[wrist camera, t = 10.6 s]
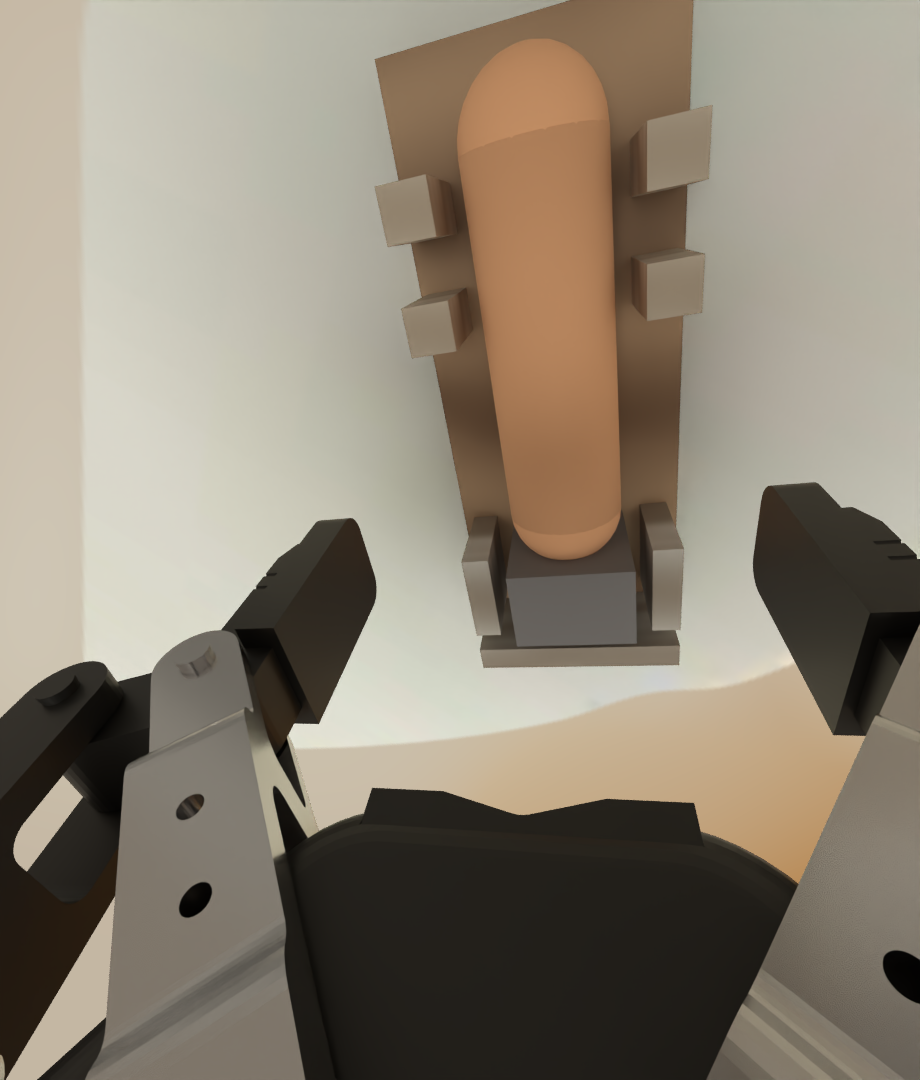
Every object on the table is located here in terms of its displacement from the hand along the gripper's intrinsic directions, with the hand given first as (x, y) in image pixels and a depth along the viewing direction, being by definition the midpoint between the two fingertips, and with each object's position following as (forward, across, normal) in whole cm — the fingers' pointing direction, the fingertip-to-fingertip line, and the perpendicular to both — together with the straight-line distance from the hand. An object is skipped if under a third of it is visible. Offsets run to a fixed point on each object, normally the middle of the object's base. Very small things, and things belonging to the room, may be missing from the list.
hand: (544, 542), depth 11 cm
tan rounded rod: (+10, 0, 0) cm, 10 cm away
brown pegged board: (+12, 0, 0) cm, 12 cm away
